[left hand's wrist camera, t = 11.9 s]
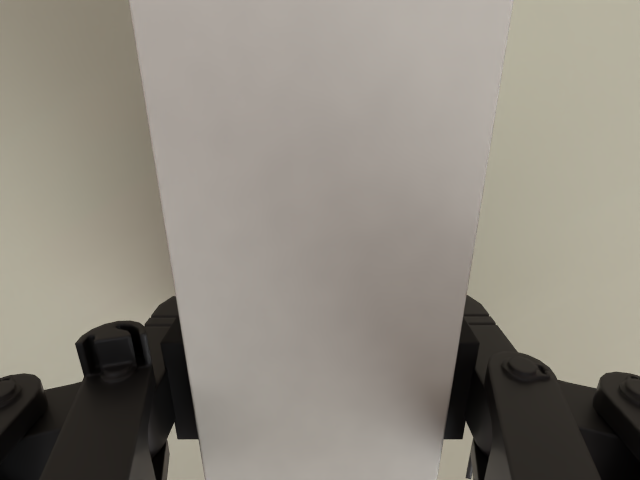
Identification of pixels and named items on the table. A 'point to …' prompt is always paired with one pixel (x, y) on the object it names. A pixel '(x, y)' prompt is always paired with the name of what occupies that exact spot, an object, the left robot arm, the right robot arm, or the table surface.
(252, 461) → the bar
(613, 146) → the table surface
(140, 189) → the table surface
